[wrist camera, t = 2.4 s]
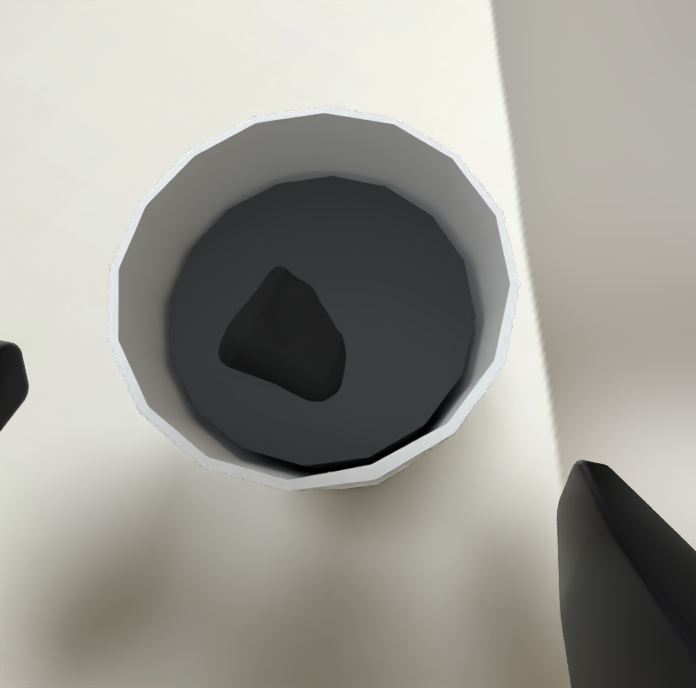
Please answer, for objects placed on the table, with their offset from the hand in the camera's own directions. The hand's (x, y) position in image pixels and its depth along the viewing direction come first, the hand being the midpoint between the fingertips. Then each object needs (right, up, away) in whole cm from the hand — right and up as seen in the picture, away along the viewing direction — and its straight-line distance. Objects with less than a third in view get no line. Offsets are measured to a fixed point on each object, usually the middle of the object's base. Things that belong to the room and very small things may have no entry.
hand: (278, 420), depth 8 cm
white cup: (+1, -1, +10) cm, 10 cm away
